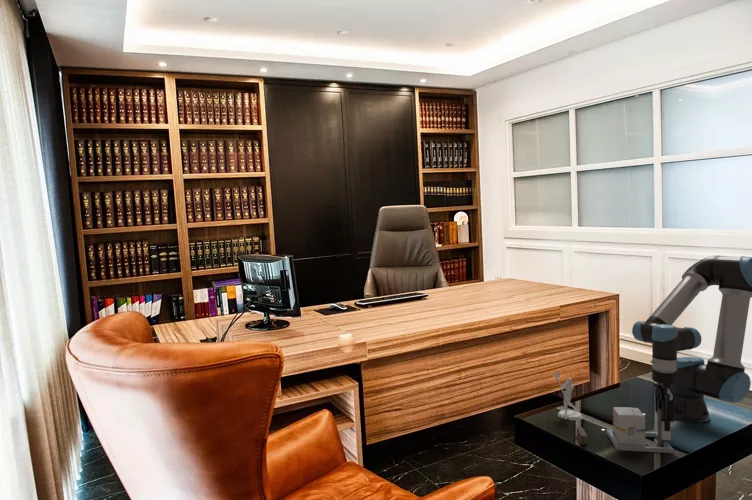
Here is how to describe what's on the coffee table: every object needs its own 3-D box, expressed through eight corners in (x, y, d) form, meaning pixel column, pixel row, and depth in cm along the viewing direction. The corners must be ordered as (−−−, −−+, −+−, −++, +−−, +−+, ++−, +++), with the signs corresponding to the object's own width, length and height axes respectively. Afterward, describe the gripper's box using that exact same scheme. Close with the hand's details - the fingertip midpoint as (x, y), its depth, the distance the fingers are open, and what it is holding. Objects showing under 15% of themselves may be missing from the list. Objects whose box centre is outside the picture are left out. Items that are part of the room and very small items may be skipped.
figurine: (552, 412, 210) (552, 369, 210) (573, 410, 212) (573, 367, 211) (565, 421, 201) (565, 375, 200) (587, 419, 202) (587, 373, 202)
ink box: (612, 438, 184) (612, 406, 183) (638, 439, 182) (637, 407, 182) (619, 448, 175) (618, 414, 175) (645, 449, 174) (645, 415, 173)
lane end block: (582, 435, 187) (582, 427, 186) (587, 444, 179) (587, 436, 179) (576, 435, 187) (576, 427, 187) (581, 444, 179) (581, 435, 179)
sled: (661, 436, 184) (661, 403, 184) (676, 453, 170) (676, 417, 170) (606, 433, 188) (606, 400, 187) (616, 449, 174) (616, 415, 173)
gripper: (645, 363, 185) (644, 427, 186) (660, 376, 169) (660, 446, 170) (667, 364, 184) (667, 428, 185) (685, 377, 168) (685, 447, 169)
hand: (664, 437), depth 178 cm, fingers closed on sled, 3 cm apart
